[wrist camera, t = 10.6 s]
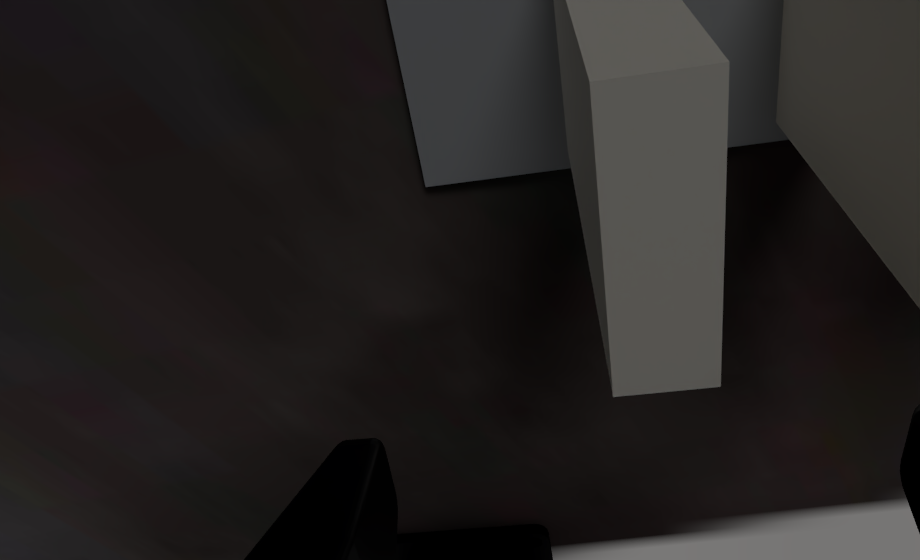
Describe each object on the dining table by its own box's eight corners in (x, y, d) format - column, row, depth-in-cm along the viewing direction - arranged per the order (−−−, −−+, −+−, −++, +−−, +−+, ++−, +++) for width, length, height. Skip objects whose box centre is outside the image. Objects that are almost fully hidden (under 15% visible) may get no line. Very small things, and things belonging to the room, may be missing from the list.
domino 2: (872, -119, 16) (1209, -8, 8) (844, 113, 19) (1082, 352, 11) (790, -105, 16) (1048, 15, 9) (775, 122, 19) (961, 363, 11)
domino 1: (622, -77, 16) (729, 61, 9) (632, 141, 19) (720, 386, 12) (547, -64, 17) (589, 81, 9) (567, 150, 19) (613, 397, 12)
